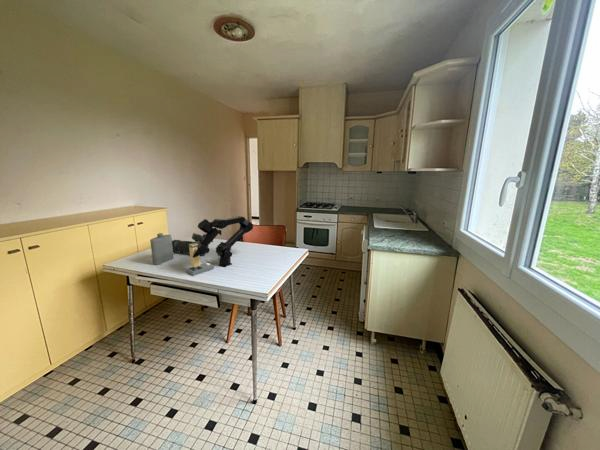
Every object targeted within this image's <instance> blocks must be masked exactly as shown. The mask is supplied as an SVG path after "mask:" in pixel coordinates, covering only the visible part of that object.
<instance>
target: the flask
mask: <svg viewBox="0 0 600 450" xmlns="http://www.w3.org/2000/svg"><path fill="white" fill-rule="evenodd" d="M172 240H173V239H172V234H163V232H158V233H157V234H156V236H155V237H152V238H151V239H150V250H151V257H152V264H153V265H154V266H159V265H162V264H164V263H166V262H169V261H172V260H174V252H173V247H172Z"/></svg>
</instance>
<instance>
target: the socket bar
mask: <svg viewBox="0 0 600 450" xmlns="http://www.w3.org/2000/svg"><path fill="white" fill-rule="evenodd" d="M214 269H215V265H214V264H212V263H210V262H203V263H200V266H197V267H192V266H190V267H187V268H186V273H187V274H189V275H191V276H194V277H195V276H197V275H200V274H203V273H206V272H210V271H213V270H214Z"/></svg>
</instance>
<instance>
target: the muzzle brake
mask: <svg viewBox="0 0 600 450" xmlns="http://www.w3.org/2000/svg"><path fill="white" fill-rule="evenodd" d="M192 243H195V241H190V240H189V241H188V240H181V239H172V247H173V253H179V254H190V250H189V244H192ZM206 254H207V253H203V254H201V255H200V256H205V255H206Z"/></svg>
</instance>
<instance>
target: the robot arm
mask: <svg viewBox="0 0 600 450" xmlns="http://www.w3.org/2000/svg"><path fill="white" fill-rule="evenodd" d="M236 224H239V229H238V230H237V231H235V233H234V234H232V236H230V237H229V238H228V239H227V240H226V241H225V242H223V241H221V242H220V243H219V244H217V245H216V247H215V253H216V254H217V256H219V259H218V261H219V263H218V266H221V267H223V268H225V267H227V266H232V265H233V263H232V262H231V257H233V252H231V249H232V247H233V246H234V245H235V244H236V243H237V242H238V241H239V240H240V239H241V238H242V237H243V236H244V235H245V234H246V233H249V232H250V231H253V228H254V224H253V223H252V222H251V221H249V220H248V219H246V218H245V217H244V216H236V217H230V218H224V219H223V218H215V219H213V221H209V220H208V219H206V218H203V220H202V221H200V222H199V223H198V224H197V228H198V229H200V230H201V231H202V232H203V234H202V235H201V234H199V233H194V232H193V234H192V236H191V239H192V240H193V241H194V242H195V243H197V244H199V247H198V246H197V250H196V252H195V253H194V255H193V258H195V257H197V256H199V255H200V256H202V255H201V254H203V253H206V254H209V253H210V248H209V246H210V244H211V243H214V239H215V238H216V237H218V235H219V236H222V229H225V228H227V227H228V226H232V225H236Z"/></svg>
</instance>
